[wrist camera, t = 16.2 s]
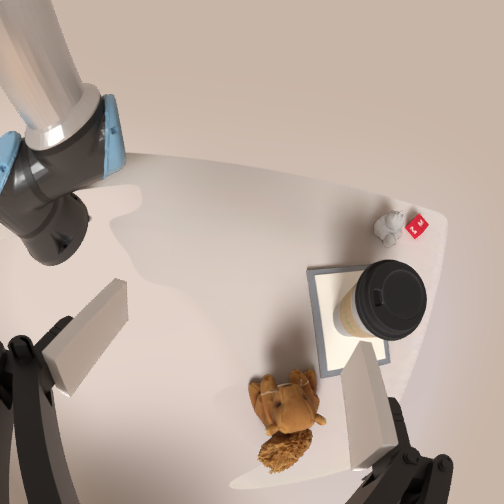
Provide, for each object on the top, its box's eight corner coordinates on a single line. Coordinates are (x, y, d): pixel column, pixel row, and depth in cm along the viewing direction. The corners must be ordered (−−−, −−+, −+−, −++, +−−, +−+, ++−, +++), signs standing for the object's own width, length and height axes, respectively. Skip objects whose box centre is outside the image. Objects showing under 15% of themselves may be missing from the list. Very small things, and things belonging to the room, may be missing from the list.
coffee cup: (310, 308, 41) (345, 280, 27) (356, 278, 43) (403, 240, 29) (341, 360, 38) (391, 356, 24) (386, 326, 40) (443, 306, 26)
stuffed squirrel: (313, 364, 39) (344, 365, 27) (318, 448, 34) (349, 478, 22) (247, 371, 38) (250, 376, 26) (253, 457, 33) (259, 493, 21)
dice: (411, 220, 50) (419, 213, 47) (421, 231, 49) (429, 224, 46) (404, 228, 49) (412, 220, 46) (414, 239, 48) (422, 232, 45)
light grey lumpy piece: (393, 223, 49) (413, 201, 42) (395, 254, 46) (418, 236, 39) (369, 217, 49) (387, 194, 42) (370, 249, 47) (391, 229, 39)
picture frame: (306, 271, 44) (307, 269, 43) (371, 265, 45) (374, 263, 44) (320, 378, 38) (322, 378, 37) (388, 362, 39) (391, 362, 38)
